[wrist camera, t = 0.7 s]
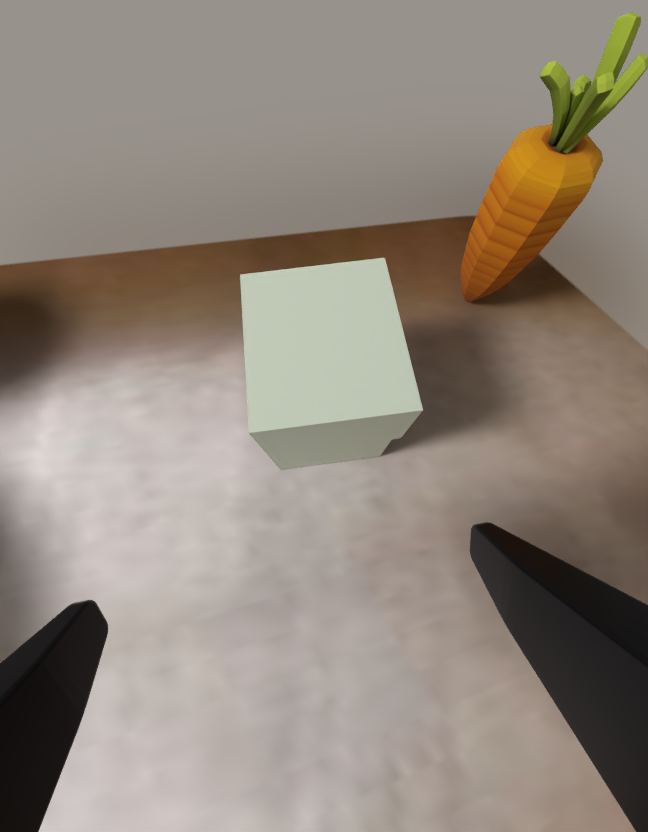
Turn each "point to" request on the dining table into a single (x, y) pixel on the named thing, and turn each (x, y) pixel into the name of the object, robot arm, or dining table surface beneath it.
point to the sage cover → (326, 363)
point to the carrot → (547, 168)
